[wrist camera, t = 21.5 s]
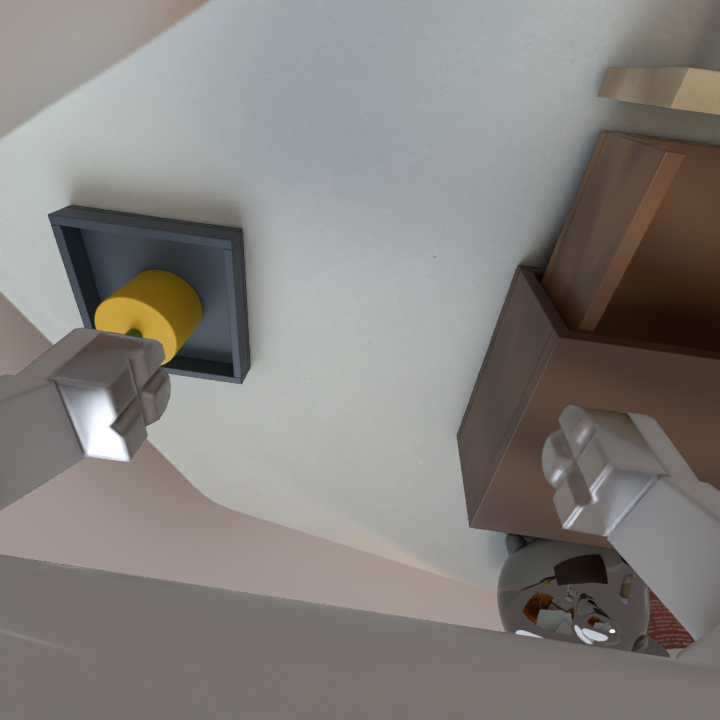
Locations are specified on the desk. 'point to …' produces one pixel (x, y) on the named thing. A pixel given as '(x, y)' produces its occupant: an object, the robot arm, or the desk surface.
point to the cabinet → (571, 387)
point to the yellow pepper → (153, 310)
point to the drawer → (645, 224)
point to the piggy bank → (574, 595)
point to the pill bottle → (667, 627)
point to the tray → (172, 254)
